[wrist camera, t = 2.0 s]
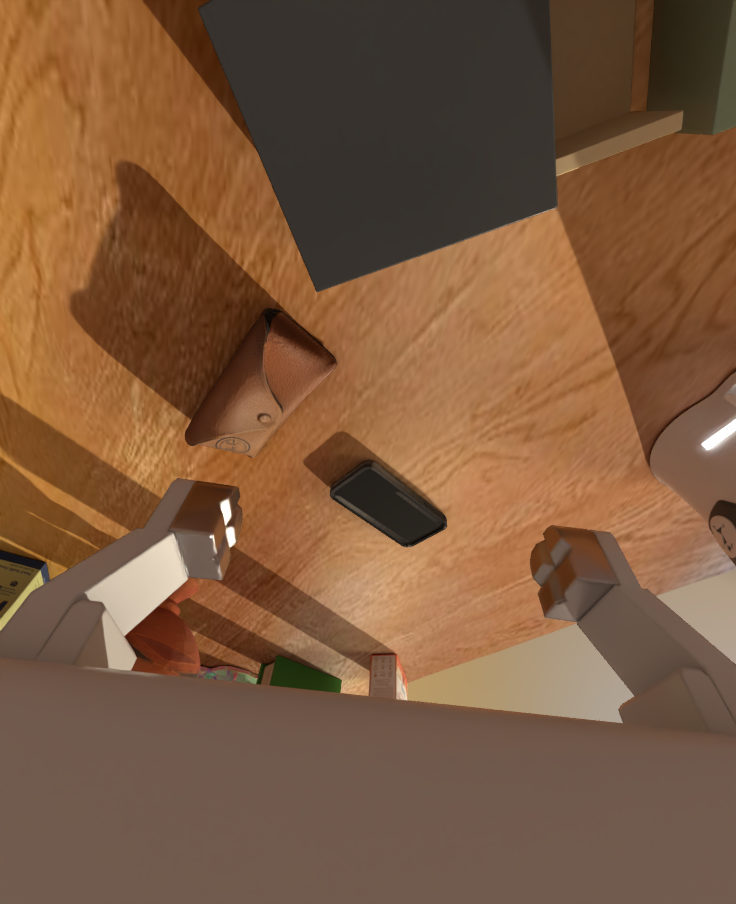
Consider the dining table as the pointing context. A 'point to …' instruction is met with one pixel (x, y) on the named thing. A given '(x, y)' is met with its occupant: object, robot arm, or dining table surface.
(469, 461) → the dining table surface
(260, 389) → the sunglasses case
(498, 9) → the black storage box
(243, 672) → the candy landscape model
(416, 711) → the robot arm
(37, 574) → the protein box
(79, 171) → the dining table surface
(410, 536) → the phone
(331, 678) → the hardback book
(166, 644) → the goblet
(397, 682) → the cracker box
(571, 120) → the drawer
